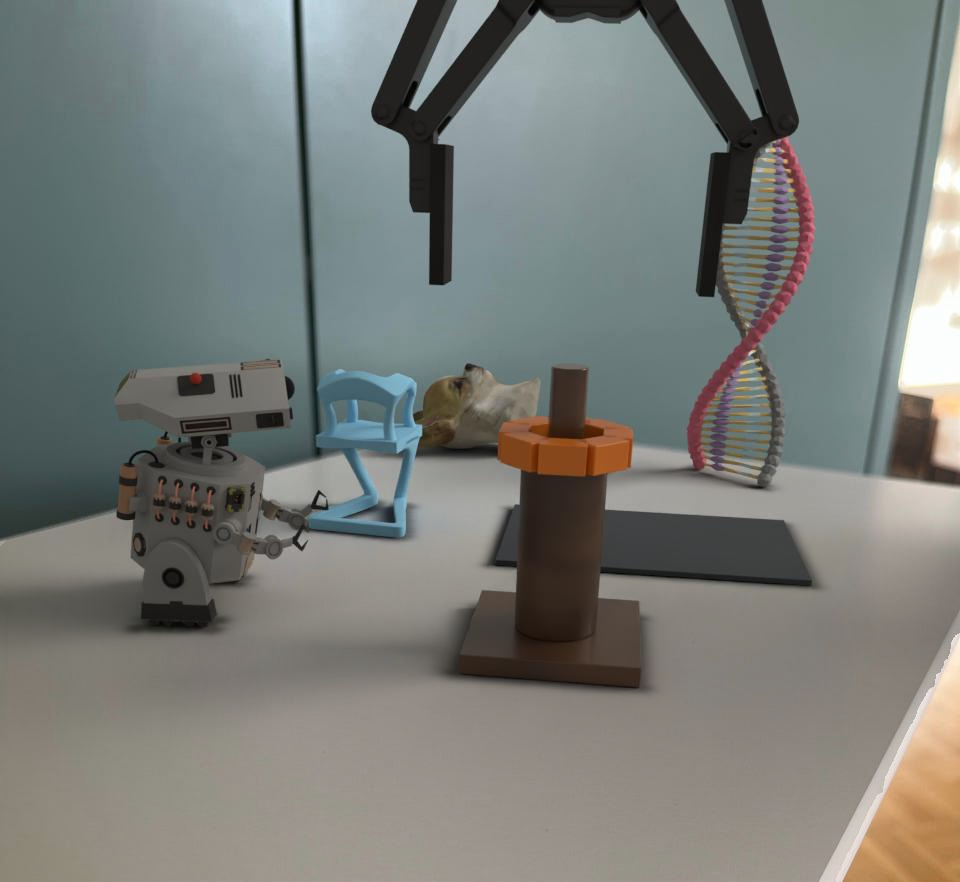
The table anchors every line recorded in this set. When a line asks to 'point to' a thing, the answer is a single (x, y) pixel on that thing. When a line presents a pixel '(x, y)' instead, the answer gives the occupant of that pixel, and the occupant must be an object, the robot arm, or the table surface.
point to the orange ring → (565, 448)
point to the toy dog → (472, 408)
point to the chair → (368, 445)
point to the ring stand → (558, 576)
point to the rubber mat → (689, 547)
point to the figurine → (201, 481)
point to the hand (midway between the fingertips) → (570, 289)
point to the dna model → (756, 321)
